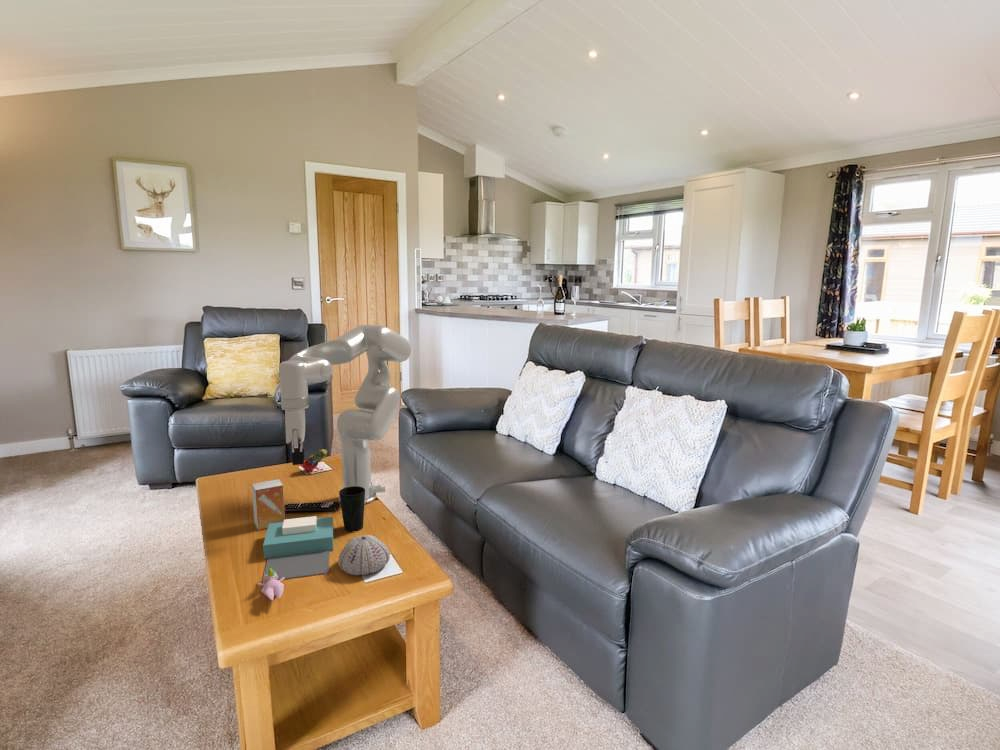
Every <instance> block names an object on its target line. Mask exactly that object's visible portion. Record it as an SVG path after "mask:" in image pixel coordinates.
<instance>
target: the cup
mask: <svg viewBox="0 0 1000 750" xmlns="http://www.w3.org/2000/svg"><path fill="white" fill-rule="evenodd" d="M338 493H339V494H338V495H339V496H340V501H339V503H340V507H341V514H342V519H343V520H342V521H343V527H344V531H345V530H346V531H345V532H348V531H350V532H349V533H353V532H352V531H356V532H359V531H361V530H363V528H364V517H365V504H364V503H365V489H364V488H363V487H359V486H351V487H346V488H343V487H342V488H341V489H340V490H339V491H338ZM358 530H359V531H358Z"/></svg>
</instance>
